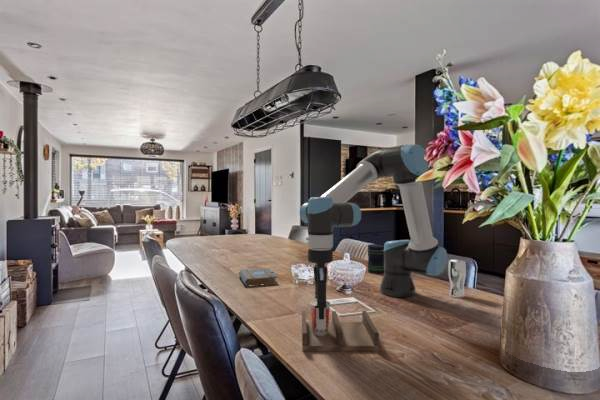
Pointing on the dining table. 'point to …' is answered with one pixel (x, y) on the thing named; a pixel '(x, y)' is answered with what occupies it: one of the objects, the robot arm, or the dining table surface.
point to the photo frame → (345, 301)
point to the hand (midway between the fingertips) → (320, 324)
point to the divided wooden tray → (341, 335)
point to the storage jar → (376, 259)
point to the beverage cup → (313, 309)
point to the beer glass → (457, 277)
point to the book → (257, 276)
